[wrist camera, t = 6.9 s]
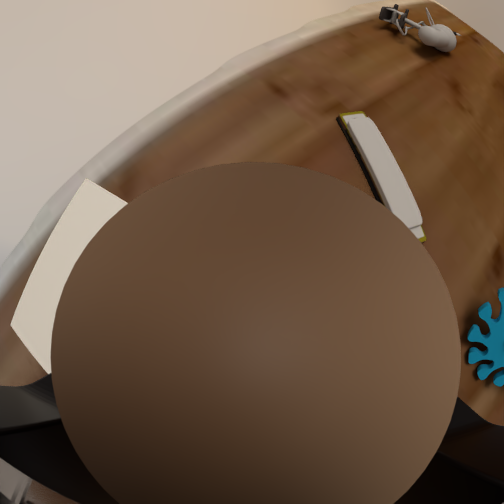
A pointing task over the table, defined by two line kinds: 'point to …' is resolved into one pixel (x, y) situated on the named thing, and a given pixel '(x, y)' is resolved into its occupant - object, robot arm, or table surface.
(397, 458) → the walnut peg
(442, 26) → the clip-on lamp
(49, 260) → the white board
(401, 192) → the harmonica
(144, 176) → the table surface
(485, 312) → the gear
